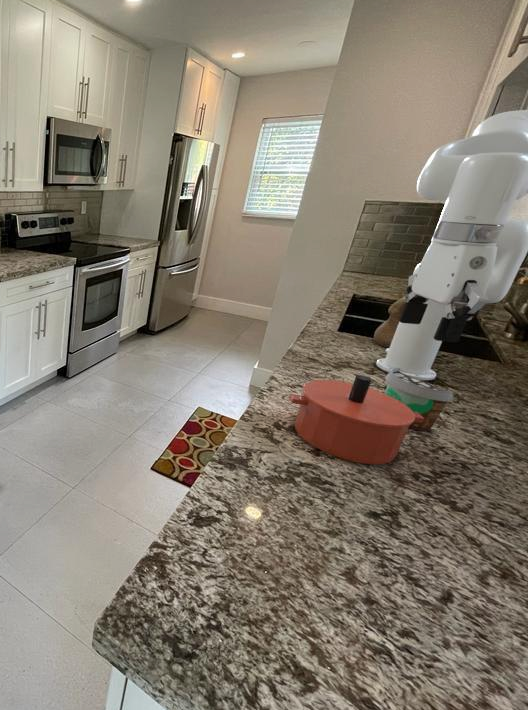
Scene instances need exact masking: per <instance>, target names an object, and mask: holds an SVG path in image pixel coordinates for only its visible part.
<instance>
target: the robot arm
mask: <svg viewBox="0 0 528 710" xmlns="http://www.w3.org/2000/svg"><path fill="white" fill-rule="evenodd" d="M416 192H417V194H418V196H419V197H421V198H422V199H423V200H426V201H427V200H428V201H443V202H444V201H445V204H444V207H443V209H442V212H441V215H440V217H439V221H438V222H437V225H436V228H435V230H434V233H433V236H432V238H431V243H430V245H429V246H428V248H427V250H426V252H425V253H424V256H423V258H422V260H421V262H420V263H418V264H417V265H416V267H415V268H414V270H413V273H412V274H411V275H409V276H408V279H407V280H408V282H407V287H406V294H408V295H407V296H406V298H405V300H406V304H405V306H404V309H403V311H402V314H401V317H400V319H399V321H400V322H399V324H398V327H397V329H396V332H395V335H394V337H393V340H392V343H391V345H390V348H386V349H385V350H384V351H385V353H387V354H386V355H385V357H381V358H379V359H377V360H376V362H375V365H376V366H377V367H378V368H379V369H381V370H382V371H384V372H386V373H389V372H390V371H392V370H393V369H395V368H401V369H400V372H401V373H403V374H406V375H408V376H410V377H413V378H416V379H419V380H422V381H432V380H435V379H436V377H437V372H435V371H434V370H433V369H431V368H432V366H433V364H434V361H435V359H436V357H437V354H438V353H439V350H440V348H441V345H442V343H443V342H447V343H458V342H459V341H460V339H461V336H462V334H463V331H464V330H465V327H466V325H467V322H468V321H469V322H470V321H471V320H472V319H473V317H474V316H476V315H478V314H479V313H480V310H481V309H482V308H483V307H484V306H485V305H487V304H495V303H499V302H500V301H502V300H503V299H504V298H505V297H506V295H508V293H509V291H510V289H511V286H512V285H513V283H514V280H515V278H516V277H517V274H518V273H519V270H520V268H521V266H522V263H523V262H524V259H525V257H526V256H527V253H528V220H525V219H521V218H509V216H510V214H511V211H512V209H513V208H514V204H515V203H516V201H518V200H520V199H522V198H524V197H525V196H526V195H527V194H528V109H520V110H509V111H503V112H500V113H499V112H498V113H496V114H494V115H491V116H489V117H487V118H486V119H484V120H483V121H482V122H480V123H479V124H478V125H477V127H476V128H475V129H474V130H473V132H472V134H471V136H467V137H464V138H462V139H458V140H454V141H451V142H448V143H446V144H444V145H441V146H440V147H439V148H436V150H435V151H434V152H433V153H432V154H431V155H430V157H429V158H428V160H427V161H426V162H425V165H424V166H423V168H422V170H421V172H420V174H419V176H418V179H417V184H416ZM456 308H457V309H456Z"/></svg>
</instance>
